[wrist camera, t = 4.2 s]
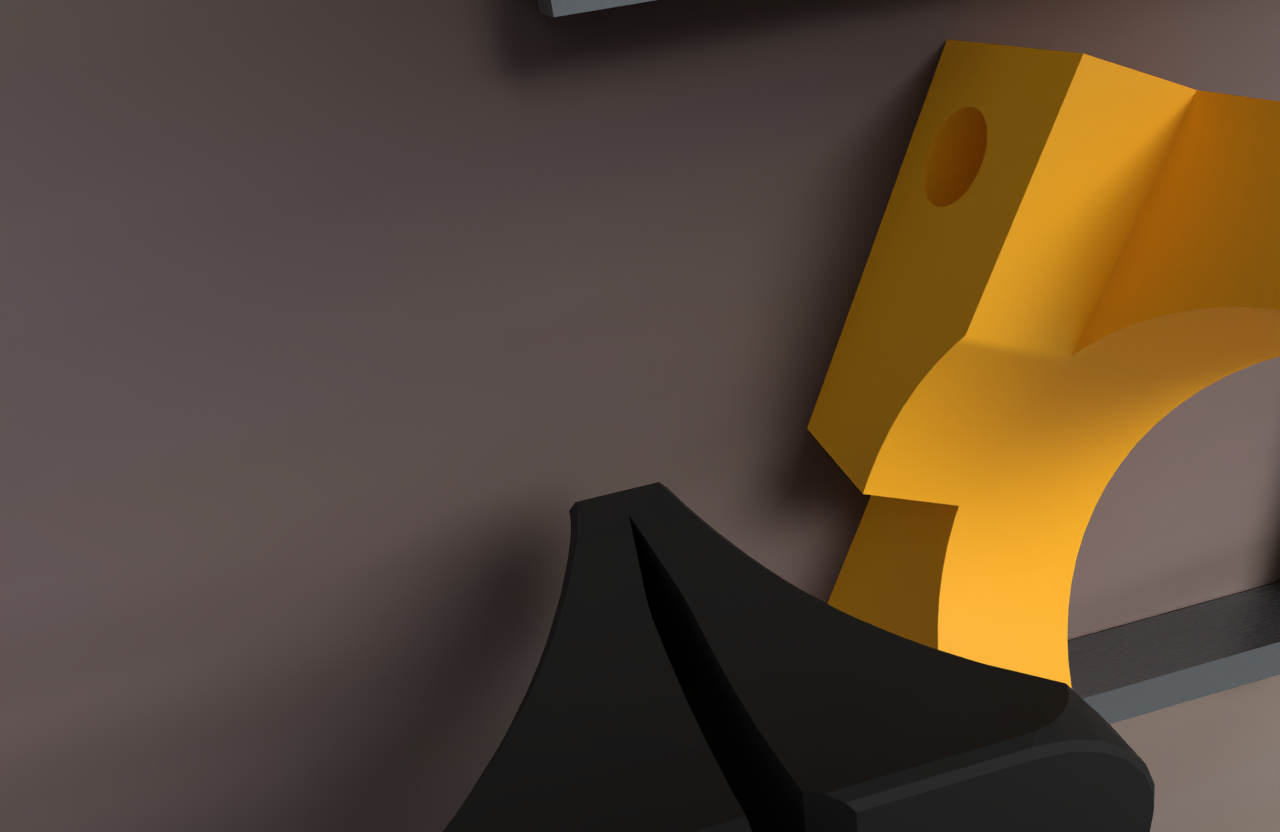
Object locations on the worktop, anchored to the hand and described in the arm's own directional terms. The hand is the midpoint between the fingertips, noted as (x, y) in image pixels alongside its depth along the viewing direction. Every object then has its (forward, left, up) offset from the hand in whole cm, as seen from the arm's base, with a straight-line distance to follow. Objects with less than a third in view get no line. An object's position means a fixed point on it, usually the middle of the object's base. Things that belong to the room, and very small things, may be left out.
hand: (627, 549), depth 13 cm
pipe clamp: (+6, -1, -3) cm, 7 cm away
